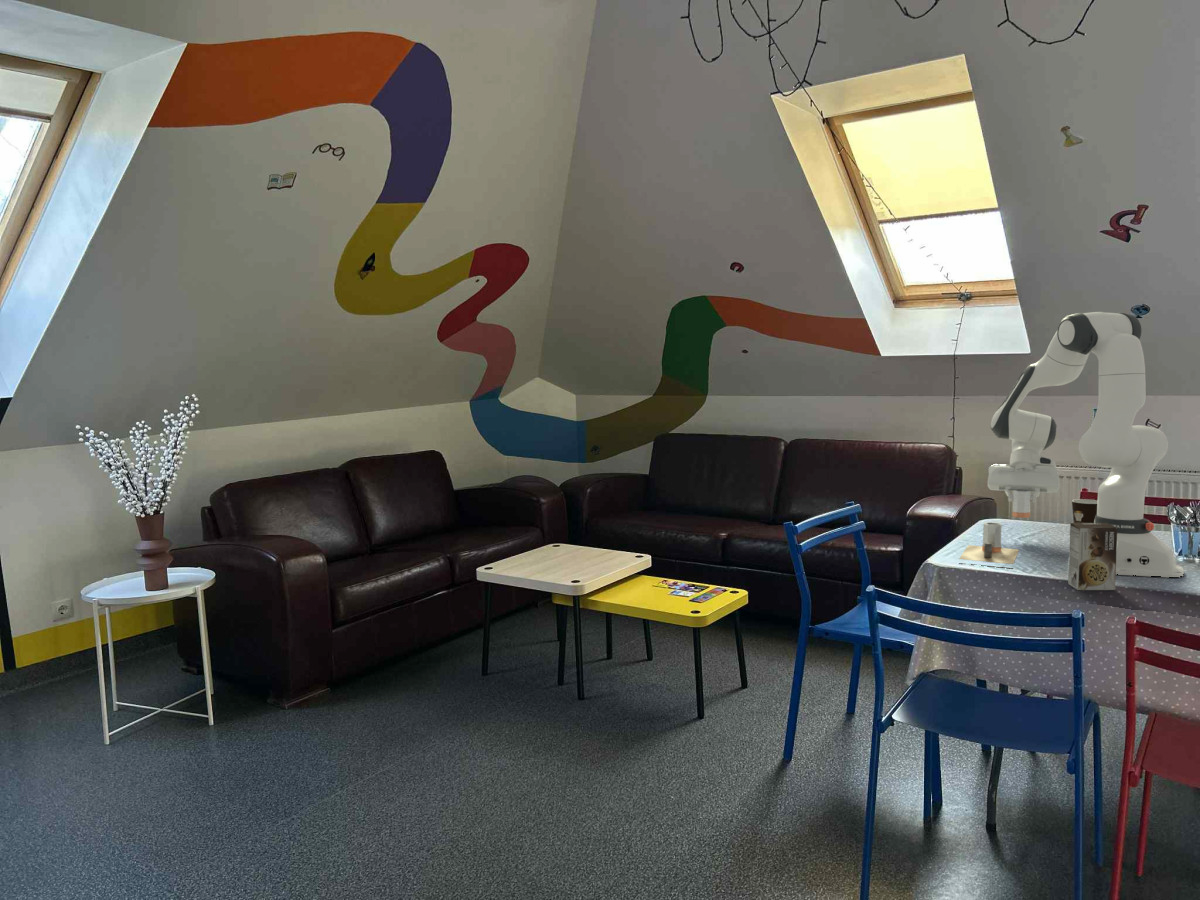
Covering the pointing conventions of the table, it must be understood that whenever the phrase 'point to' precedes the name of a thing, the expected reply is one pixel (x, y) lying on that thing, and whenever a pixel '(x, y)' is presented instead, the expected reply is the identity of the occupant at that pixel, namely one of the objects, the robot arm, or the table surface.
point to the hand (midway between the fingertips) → (1021, 500)
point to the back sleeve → (992, 535)
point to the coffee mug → (1084, 510)
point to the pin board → (995, 556)
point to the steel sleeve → (1021, 503)
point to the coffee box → (1092, 556)
